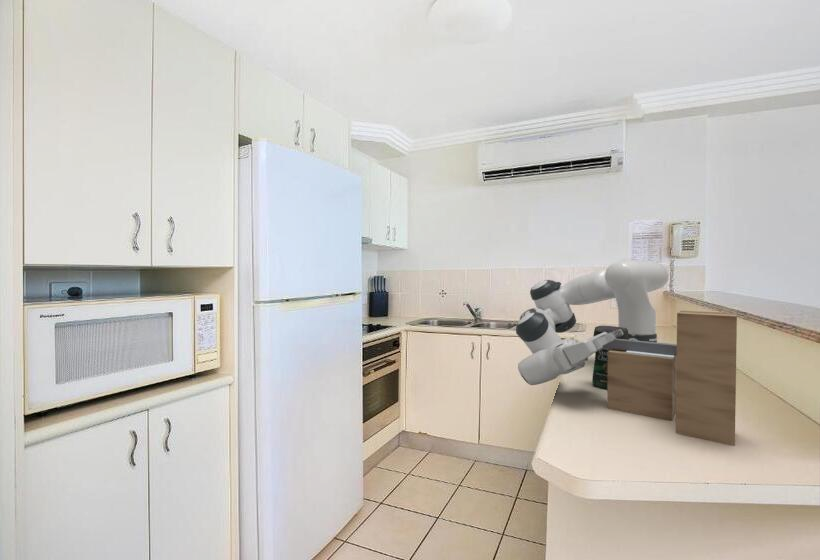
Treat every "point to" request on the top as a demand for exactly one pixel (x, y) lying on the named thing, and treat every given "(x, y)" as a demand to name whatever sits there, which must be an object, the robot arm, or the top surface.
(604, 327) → the coffee jar
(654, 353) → the notepad
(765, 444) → the top surface
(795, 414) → the top surface
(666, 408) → the walnut stand
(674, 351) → the marker
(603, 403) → the top surface
